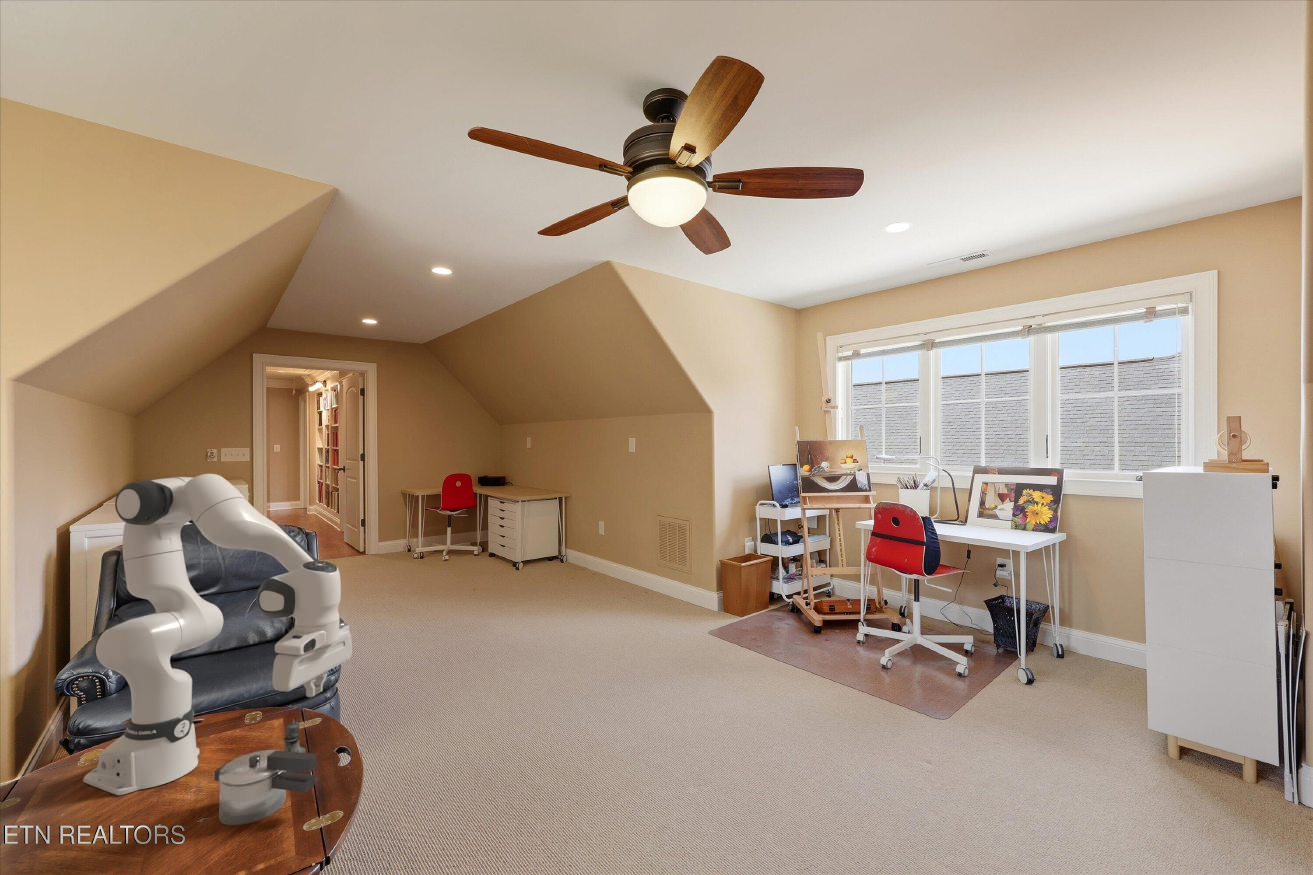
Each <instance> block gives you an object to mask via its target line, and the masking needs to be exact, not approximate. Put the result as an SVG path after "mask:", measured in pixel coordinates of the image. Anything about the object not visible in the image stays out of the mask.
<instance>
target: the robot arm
mask: <svg viewBox="0 0 1313 875" xmlns="http://www.w3.org/2000/svg"><path fill="white" fill-rule="evenodd" d="M114 505H115V506H114V507H115V511H116V514H117V515H118V517H119V518H120V519H121V520H122V521H123V522H125V523H124V526H123V533H122V559H123V560H122V561H123V565H124V566H123V567H124V568H123V569H124V575H125V582H126V589H127V591H128V592H129V594H130V595H132V596H134V597H136V598H138V599H139V598H140V599H143V600H148V602H150V603H151V604H152V605H153V607H154V609H155V610H154V611H155V613H152V614H148V615H143V616H142V615H141V616H139V617H135V618H131V619H128V620H126V621H122V622H121V623H118V624H116V625H114V626H112V627H110V628H108V629H106V630H104V631H103V633H102V634H101V635H100V637H99V639H98V640H97V643H96V647H95V654H96V658H97V661H98V662H99V663H100V664H101V665H102V666H103V667H104V668H107V669H108V670H112V671H114V672H117V673H118V674H120V675H121V676H122V677H124V679H125V680H126V682H127V684H128V686H129V688H130V689H129V691H130V693H131V694H130V695H131V696H130V697H131V717H130V718H128V719H126V720H123V721H122V722H121V723H122V725H121V728H122V727H126V728H125V731H124V733H123V734H122V735H121V736H120V737H118V738H117V739H115V741H113V742H112V743H110V744H109V745H108V746H106V748H104V749H103V750H102V751H101V752H100V755H99V757H98V761H97V762H98V763H97V767H95V768H93V769H92V770H91V771H89V772H88V773H87V774H85V776H84V777H83V780H82V782H83V783H85V784H87V785H90V786H92V787H95V788H98V789H100V790H103V791H105V792H108V793H110V794H114V795H116V796H123V795H126V794H129V793H132V792H136V791H139V790H145V789H149V788H154V787H158V786H161V785H164V784H167V783H170V782H172V781H176V780H178V779H179V778H181V777H183V776H185V775H187V774H189V773H190V772H191V771H193V770H194V769H195V768H196V767H197V766H198V765H199V764H198V763H199V758H198V756H199V755H200V752H201V751H200V748H199V747H197V741H196V739H197V738H196V732H195V731H196V730H195V724H194V718H195V717H194V716H195V711H194V706H193V705H192V700H193V699H192V697H193V696H192V695H193V679H192V676H191V675H190V674H189V673H188V672H186V671H185V670H184V669H183V670H182V669H178V668H172V666H171V656H174V655H176V654H179V653H183V652H185V651H188V650H189V651H190V650H191V649H195V648H197V647H200V646H202V645H204V644H206V643H208V642H209V641H211V640H213V639H215V638H216V637H218V636H219V635H220V633H221V631H222V629H223V626H224V616H223V613H222V611H221V610H220V608H219V607H218V606H217V605H216V604H214V603H211V602H210V601H208V600H205V599H203V598H202V597H201V595H199V594H198V593H197V592H196V590H195V589H194V587H193V586H192V584H191V583H190V579H189V576H188V572H187V567H186V562H185V556H184V550H183V542H182V538H181V531H182V528H183V527H184V526H185V525H186V524H187V523H189V524H191V525H195V527H197V529H198V530H199V532H201V535H203V537H205V538H206V539H207V540H208V541H209V542H211V543H212V544H214V545H215V546H217V547H219V548H223V549H228V550H229V549H230V550H248V551H255V552H261V553H264V554H267V555H270V556H272V557H273V558H275V560H276V561H277V562H278V563H280V564H281V565H282V566H283V567H284V568H285V569H286V570H287V571H288V572H285V573H282V574H279V575H275V576H272V577H270V578H268V579H266V580H264V581H263V582H262V583H261V585H260V586H259V588H258V591H257V594H256V602H257V603H256V604H257V606H258V609H259V610H260V612H261V614H263V615H265V616H266V617H268V618H271V619H280V618H283V619H284V618H288V617H293V618H294V627H293V628H291V629H290V631H289V632H288V633H286V635H284V636H283V637H282V638H280V639H279V641H277V642H276V643H275V645H274V652H275V653H277V655H276V656H275V659H274V662H273V666H272V667H273V668H272V687H273V688H274V689H275V690H276V691H280V692H291V691H293V690H294V689H296V688H298V687H300V686H304V688H305V696H306V697H307V698H312V697H315V696H316V695H318V694H319V693H321V692H323V685H324V683H325V681H326V678H327V676H328V671H330V670H332V669H334V668H336V667H338V666H339V665H341V664H343V663H346V662H347V661H349V660H350V659H351V657H352V654H353V642H352V635H351V632H350V625H349V624H348V623H346V622H341V623H340V618H341V617H340V616H341V615H340V613H339V605H340V602H341V597H342V581H341V574H340V573H341V572H340V570H339V567H338V566H337V565H336V564H334V563H332V562H330V561H327V560H326V561H325V560H319V559H318V558H316V557H315V556H314V555H313V554H312V553H311V552H310V551H309V550H308V549H307V548H306V547H305V546H304V545H302V544H301V543H300V542H299V540H297V539H296V538H295V537H294V536H293V535H292V534H291V533H290V532H289V531H288V530H286V529H285V528H284V527H283V526H282V525H280V524H278V523H276V522H275V521H272V520H271V519H270V518H268V517H266V516H265V515H263V514H261V512H259V510H257V509H256V508H255V507H254V506H253V505H252V504H251V503H250V502H249V501H248V500H247V499H246V498H245V496H244V495H243V494H242V493H241V492H240V490H238V489H237V488H236V487H235V486H234V485H233V484H232V483H231V482H230V481H228V480H227V479H225V478H224V477H223V476H222V475H219V474H216V473H203V474H202V473H201V474H199V475H196V476H194V477H192V476H191V477H190V476H189V477H188V476H172V477H167V478H166V477H165V478H158V479H151V480H150V479H143V480H137V481H134V482H130V483H128V484H125V485H124V486H122V487H121V488H120V490H119V491H118V493H117V495H116V498H115V500H114Z"/></svg>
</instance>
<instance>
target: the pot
mask: <svg viewBox="0 0 1313 875" xmlns="http://www.w3.org/2000/svg"><path fill="white" fill-rule="evenodd" d="M226 764H227V763H225V764H223V765H222V766H219V767H218V768H217V769H214V781H216V782H219V805H218V806H219V807H218V808H219V810H218V811H219V812H218V813H219V815H218V819H219V821H220V822H221V823H222V824H224V825H227V826H241V825H246V824H251V823H254V822H257V821H259V820H262V819H265V818H267V817H269V816H271V815H273V814H274V813H275V812H277V811H278V810H279V809H280V808H282V807H283V805H284V804H285V802H286V798H287V796H286V793H287V791H291V792H299V793H307V792H308V791H310V789H312V788H313V787H314V786H315V782H316V781H315V777H316V776H315V775H314V774H309V773H301V772H293V773H292V772H286V771H282V770H281V771H280V772H279V773H277V774H276V775H274V776H272V777H270V778H268V779H265V780H263V781H260V782H257V783H253V784H248V785H243V786H228V785H224V784H222V783H221V782H220V781H219V772H220V770H221V769H222V768H223V767H224V766H225V765H226Z"/></svg>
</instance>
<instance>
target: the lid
mask: <svg viewBox="0 0 1313 875" xmlns="http://www.w3.org/2000/svg"><path fill="white" fill-rule="evenodd" d="M225 764H226V765H225ZM225 764H224V765H225V766H224V767H223V768H222V769H221V770H220V772H219V781H218V782H219V783H220V782H221V783H222V784H224V785H228V786H243V785H248V784H253V783H257V782H260V781H263V780H265V779H268V778H270V777H272V776H274V775H276V774H277V773H279V772H280V771H281V770H282V771H293V773H304V774H309V773H311V772H312V771H314V769H316V768H317V767H318V753H312V752H311V753H310V752H305V753H300V752H288V751H284V750H279V749H266V750H265V749H264V750H258V751H254V752H251V753H247V754H244V755H242V756H239V757H237V758H234V759H233V760H231V761H229V762H227V763H225Z"/></svg>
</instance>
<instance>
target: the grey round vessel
mask: <svg viewBox="0 0 1313 875" xmlns="http://www.w3.org/2000/svg"><path fill="white" fill-rule="evenodd" d="M301 736H302V735H301V734H300V723H299V722H298V721H295V719H294V718H292V719H291V722H290V723H289V722H288V723H287V725H286V727H285V737H283V742H284V750H283V751H288V752H300V753H307V752H306V750H307V749H306V748H305V747H303V746H301V744H300V738H301ZM286 772H292V773H294V772H293V771H286Z"/></svg>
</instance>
